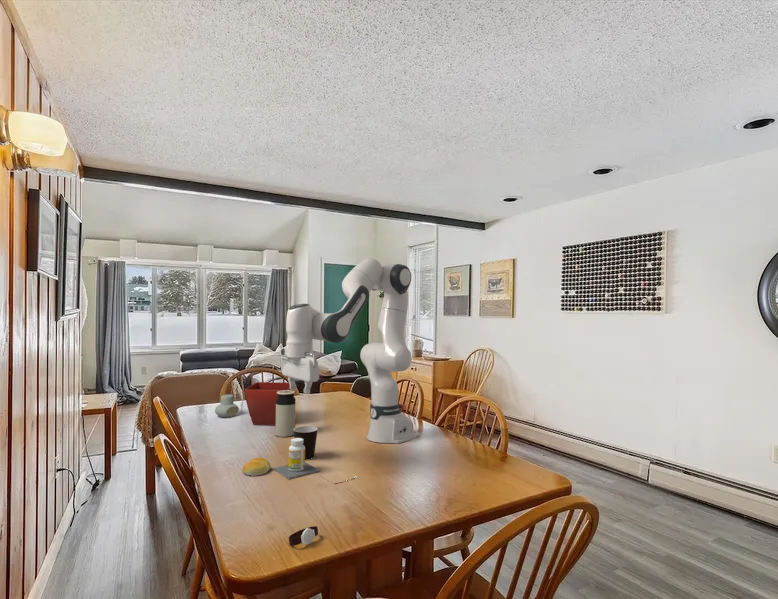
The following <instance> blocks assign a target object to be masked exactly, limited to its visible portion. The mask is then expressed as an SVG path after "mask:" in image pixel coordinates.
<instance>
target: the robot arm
mask: <svg viewBox="0 0 778 599" xmlns="http://www.w3.org/2000/svg"><path fill="white" fill-rule="evenodd" d="M411 282H412V273H411V271H410V268H409V267H408V266H406V265H405V264H401V263H397V264H394V263H385V264H381V263H380V261H378V260H377V259H375V258H373V257H367V258H365V259H363V260H362V261H360V262H359V263H357V264H356V265H355V266H354V267H353V268H352V269H351V270H350V271H349V272H348V273H347V274H346V275H345V277H344V278H343V280H342V282H341V288H342V289H341V290H342V292H343V293H344V296H346V298H347V301H346V302H345V303H344V305H343V306H342V308H341V309H340V310H339V311H337V312H333V313H329V312H328V313H327V312H326V313H324V312H320V311H318V310H317V309H315V308H313V307H312V306H311V304H309V303H298V304H294V305H292V306H290V307H289V308H288V310H287V312H286V322H285V323H286V324H285V326H286V327H285V328H286V331H285V332H286V334H287V338H286V346H284V347H282V348H280V349H279V355H280V356H281V357H280V370H281V373H282V376H284V377H287V380H288V383H289V384H290V389H291V390H294V391H295V390H297V384H296V381H295V380H300V381H303V382H304V388H303V395H310V394H311V388H312V385H313V383H315V382H316V383H317V382H318V381H319V379H320V370H319V362H318V360H317V358H316V356H315V354H314V353H313V352H314V351H313V350H314V348H313V345H314V344H313V343H314V342H313V340H315V341H317V340H318V341H325V342H331V343H333V344H340V343H342V342H344V341H345V340H346V339H347V338H348V337H349V334H350V332H351V329H352V327H353V324H354V323H355V321H356V320H357V318H358V316H359V315H360V313H361V312H362V310H363V309H364V307H365V306H366V305H367V302H368V300H369V298H370V293H371V292H372V291H381V292H383V300H382V303H381V308H380V314H379V317H378V323H377V329H378V330H379V331H380V333H381V336H382V342H371V343H366V344H364V346H363V347H362V348H361V349H360V355H359V356H360V360H361V362H362V364H363V366H364V367H365V368H366V370H367V374H368V377H369V381H370V382H369V383H370V392H371V394H370V395H371V396H370V397H371V403H370V405H369V406H370V407H369V414H370V421H369V426H368V433H367V436H366V438H367V440H368V441H369V442H370V441H371V442H374V443H380V444H401V443H404V442H407V441H410V440H412V439H415V438H418V437H420V433H419V432H418V431H417V430H414V422H413V421H412V419H411V418H409V417H408V416H407V415H406V414H404V413H403V412H402V410H405V409H406V408H407V406H406V404H405V403H404V404H403V403H399V384H398V382H397V381H396V380H395V378H394V377H393V374H392V372H394V373H396V372H397V373H398V372H405V371H407V370H408V368H409V367H410V366H411V363H412V360H413V359H412V353H411V351H410V350H409V348H408V346H407V343H406V340H405V326H406V322H407V321H406V320H407V315H408V314H407V313H408V309H409V308H408V307H409V291H408V290H409V287H410V286H411Z"/></svg>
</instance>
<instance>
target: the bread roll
mask: <svg viewBox="0 0 778 599" xmlns="http://www.w3.org/2000/svg"><path fill="white" fill-rule="evenodd" d="M270 470H271V463H270V462H269V460H267V459H266V458H264V457H254V458H252V459H251V460H249V461H248V462H247V463H246V464H244V465H243V466H242V469H241V472H242V473H243V475H245V474H246V476H248V475H251V476H250V477H255V476H254V475H258V476H262V475H261V474H263V475H264V474H267V473H268V472H270Z"/></svg>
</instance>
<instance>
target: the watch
mask: <svg viewBox="0 0 778 599" xmlns="http://www.w3.org/2000/svg"><path fill="white" fill-rule="evenodd" d="M317 536H319V527H318V526H317V525H314V526H309V527H306V528H303V529H299V530H297V531H296V532H294V533H292V534H290V535H289V536H288V542H289V546H292V547H293V546H294V547H295V546H298V545H299V544H305V545H311V544H312V543H313V541H314V539H315V538H316V537H317Z"/></svg>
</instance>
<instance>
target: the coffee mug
mask: <svg viewBox="0 0 778 599" xmlns="http://www.w3.org/2000/svg"><path fill="white" fill-rule="evenodd" d="M293 432H294V435H293V438H302V439H303V444H302V445H304V446H305V461H307V460H306V459H309V460H312V459H314V458H315V454H316V445H317V438H318V437H317V436H318V427H316V426H313V425H311V426H310V425H302V426H295V428H294V429H293ZM313 457H314V458H313ZM311 458H312V459H311Z"/></svg>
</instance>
